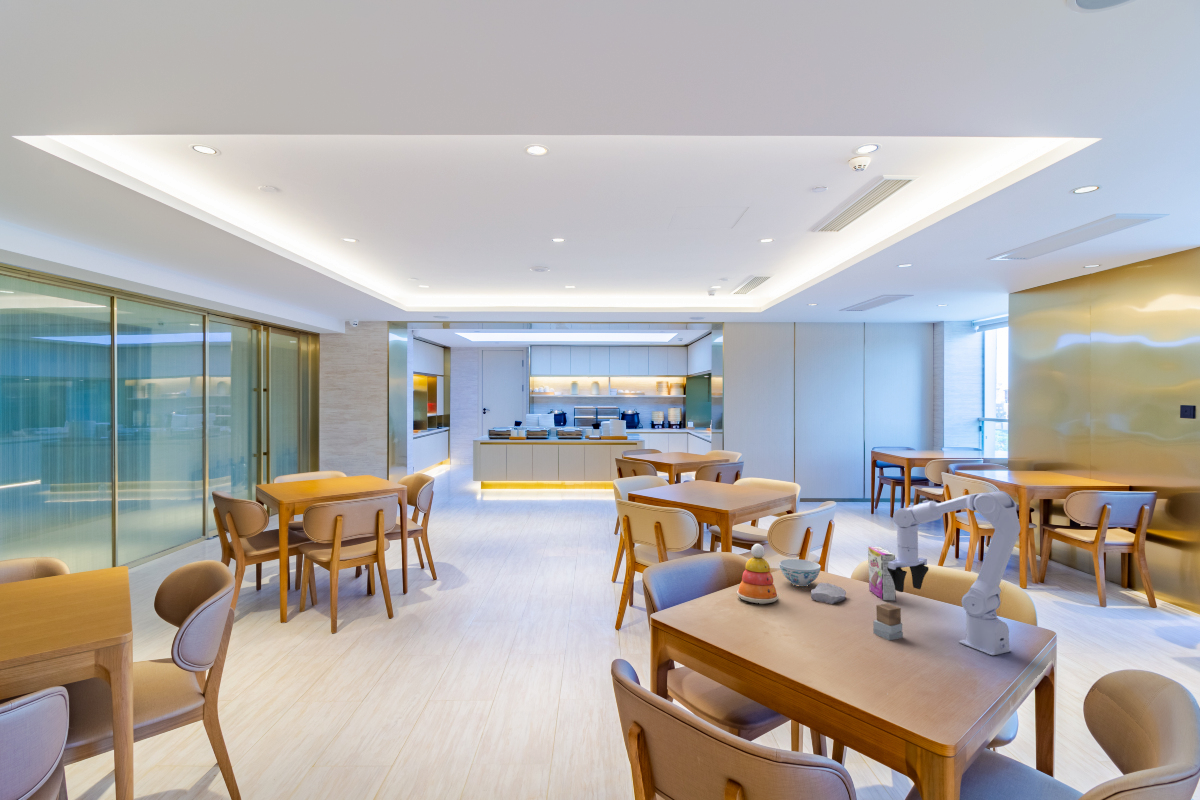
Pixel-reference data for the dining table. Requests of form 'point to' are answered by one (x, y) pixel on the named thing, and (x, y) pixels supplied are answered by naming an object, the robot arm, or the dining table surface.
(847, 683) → the dining table surface
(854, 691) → the dining table surface
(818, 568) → the chinaware
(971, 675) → the dining table surface
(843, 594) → the stone block
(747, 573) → the stacking toy
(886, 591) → the candy bar box
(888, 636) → the tower base
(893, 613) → the walnut cube
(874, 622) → the tower top
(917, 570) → the robot arm
